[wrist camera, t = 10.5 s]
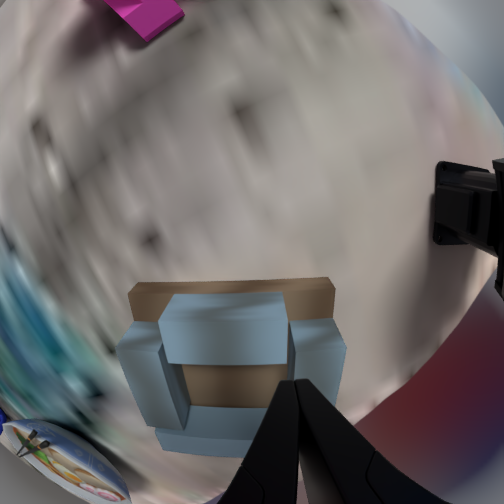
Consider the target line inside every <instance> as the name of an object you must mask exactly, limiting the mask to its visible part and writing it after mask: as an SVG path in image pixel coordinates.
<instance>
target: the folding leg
mask: <svg viewBox="0 0 504 504" xmlns="http://www.w3.org/2000/svg"><path fill="white" fill-rule="evenodd" d="M266 411H267V408H223V407H205V406H192V405H189V409H188V413H187V417H186V421H185V425H184V430H183V431H182V430H173V429H165V428H158V427H156V429H155V434H156V436H157V438H158V440H159V442H160V444H161V447H162V449H163V450H166V451H172V452H179V453H186V454H195V455H205V456H218V457H241V458H244V457H245V455H246V453H247V451H248V449H249V447H250V445H251V443H252V441H253V439H254V437H255V435H256V433H257V430H258V428H259V426H260V424H261V422H262V420H263V417H264V415H265V413H266Z"/></svg>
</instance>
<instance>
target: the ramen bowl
mask: <svg viewBox="0 0 504 504" xmlns="http://www.w3.org/2000/svg"><path fill="white" fill-rule="evenodd" d="M2 425H3V430H4V433H5V435H6V436H7V438H8V439H9V440H10V442H11V443H12V445H13V446H14V447H15V448H16V449H17V450H18V451H19V452H18V453H17V455H18V454H19V453H21V456H19V457H22V456H23V457H24V458H25V459H26V460H27V461H28V462H30V463H31V464H32V465H33V466H34V467H36V468H37V469H38V470H39V471H41V472H42V473H43V474H44V475H46V476H47V477H48V478H50V479H51V480H53V481H54V482H56V483H58V484H59V485H61V486H62V487H64V488H66V489H67V490H69V491H71V492H73V493H75V494H77V495H79V496H81V497H83V498H85V499H87V500H89V501H92V502H94V503H97V504H132V502H131V498H130V495H129V491H128V489H127V486H126V484H125V481H124V480H123V478H122V476H121V474H120V473H119V472H118V471H117V469H116V468H115V467H114V466H113V465H112V464H111V463H110V462H109V461H108V460H107V459H106V457H104V456H103V455H102V454H101V453H99V452H98V451H97V450H96V449H95V448H94V446H93V445H91V444H90V443H89V442H87V441H86V440H85V439H83V438H82V437H80V436H79V435H77V434H75V433H73V432H71V431H68V430H65V429H63V428H61V427H59V426H57V425H54V424H51V423H49V422H46V421H42V420H39V419H23V420H16V421H10V422H7V423H4V424H2Z"/></svg>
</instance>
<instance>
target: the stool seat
mask: <svg viewBox="0 0 504 504" xmlns="http://www.w3.org/2000/svg"><path fill="white" fill-rule="evenodd" d="M128 297H129V302H130V306H131V310H132V314H133V318H134V322H133V323H132V325H131V326H130V328H129V329H128V330H127V332H126V333H125V335H124V336H123V337H122V339H121V340H120V342H119V343H118V345H117V346H116V348H115V350H116V353H117V356H118V358H119V361H120V364H121V367H122V369H123V372H124V374H125V377H126V379H127V382H128V384H129V387H130V389H131V391H132V394H133V396H134V398H135V401H136V403H137V405H138V407H139V409H140V412H141V414H142V416H143V418H144V420H145V422H146V424H147V426H151V427H158V428H165V429H173V430H182V431H183V430H184V425H185V421H186V417H187V413H188V409H189V405H192V406H205V407H223V408H268V406H269V404H270V402H271V399H272V397H273V395H274V392H275V390H276V388H277V385H278V383H279V381H280V380H289V379H292V380H293V381H294V380H295V379H302V378H307V379H309V380H310V381H311V382H312V383H313V384H314V385H315V386H316V387H317V389H318V390H319V391H320V392H321V393H322V394H323V395H324V396H325V397H326V398H327V399H328V400H329V401H330V402H331V403H332V405H333V406H334V407H335V403H336V399H337V394H338V390H339V385H340V380H341V376H342V371H343V365H344V360H345V355H346V349H347V347H346V345H345V343H344V341H343V338H342V336H341V334H340V332H339V330H338V328H337V326H336V324H335V321H334V319H333V310H334V300H335V287H334V286H333V284H332V282H331V281H330V279H329V278H328V277H320V278H300V279H277V280H250V281H214V282H138V283H137V284H136V285H135V286H134V287H133V288H132V289H131V291H130V292H129V293H128Z"/></svg>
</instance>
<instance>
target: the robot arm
mask: <svg viewBox="0 0 504 504" xmlns="http://www.w3.org/2000/svg"><path fill="white" fill-rule="evenodd" d="M492 163H493V169H495V174H493V173H490V172H489V170H487V169H482V168H478V167H473V166H468V165H463V164H457V163H452V162H446V161H440V162H438V164H437V191H436V210H435V224H434V234H433V241H434V243H435V244H437V245H460V244H470V245H472V246H474V247H477V248H479V249H481V250H483V251H485V252H487V253H489V254H491V255H493V256H495V257H497V258H498V266H497V278H496V280H495V286H494V288H495V289H496V291H497V292H498V293H499V295H500V296H501V298H502V299H503V301H504V158H502V159H496V160H492ZM442 166H444V170H443V169H442ZM439 236H440V239H439V240H438V238H439ZM375 450H376V449H375V448H374V447H373V446H372V445H371V444H370V443H369V442H368V441H367V440H366V439H365V438H364V437H363V436H362V435H361V434H360V432H359V431H357V429H356V428H354V426H353V425H352V424H351V423H350V422H349V421H348V420H347V419H346V418H345V417H344V416H343V415H342V414H341V413H340V412H339V411H338V410H337V409H336V408H335V407H334V406H333V405H332V403H331V402H330V401H329V400H328V399H327V398H326V397H325V396H324V395H323V394H322V393H321V392H320V391H319V390H318V389H317V387H316V386H315V385H314V384H313V383H312V382H311V381H310V380H309V379H307V378H302V379H295V380H294V381H293V380H292V379H289V380H280V381H279V383H278V385H277V388H276V390H275V392H274V395H273V397H272V399H271V402H270V404H269V406H268V408H267V411H266V413H265V415H264V417H263V420H262V422H261V424H260V426H259V428H258V430H257V433H256V435H255V437H254V439H253V441H252V443H251V445H250V447H249V449H248V451H247V453H246V455H245V457H244V459H243V461H242V463H241V466H240V467H239V469H238V471H237V473H236V475H235V477H234V478H233V480H232V482H231V483H230V485H229V487H228V488H227V490H226V492H225V493H224V494H223V496H222V497H221V499H220V500H219V501H218V503H217V504H296V501H297V486H298V485H297V484H298V467H299V462H300V466H301V471H302V475H303V480H304V484H305V489H306V493H307V498H308V502H309V504H451V503H449V502H446V501H444V500H442V499H441V498H439V497H437V496H436V495H434V494H432V493H431V492H430V491H428V490H426V489H425V488H423V487H422V486H420V485H419V484H418V483H416V482H415V481H413V480H412V479H410V478H409V477H408V476H406V475H405V474H404V473H402V472H401V471H400V470H398V469H397V468H396V467H395V466H394V465H392V464H391V463H390V462H389V461H388V460H387V459H386V458H385V457H383V455H382V454H381V453H380V452H379V451H377V450H376V451H375Z"/></svg>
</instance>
